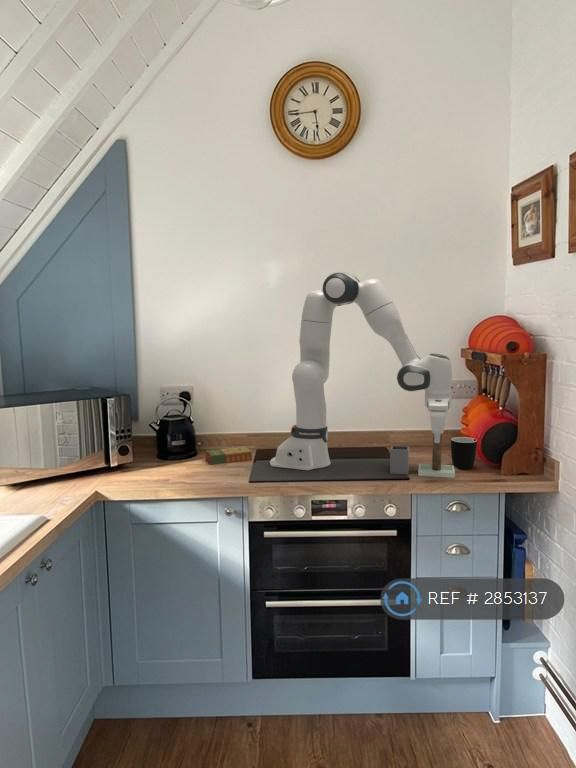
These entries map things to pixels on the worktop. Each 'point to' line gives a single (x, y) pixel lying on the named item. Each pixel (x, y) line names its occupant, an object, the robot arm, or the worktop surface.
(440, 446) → the dowel
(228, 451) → the carton
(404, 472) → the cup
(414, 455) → the worktop surface
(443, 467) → the tray
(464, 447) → the mug
